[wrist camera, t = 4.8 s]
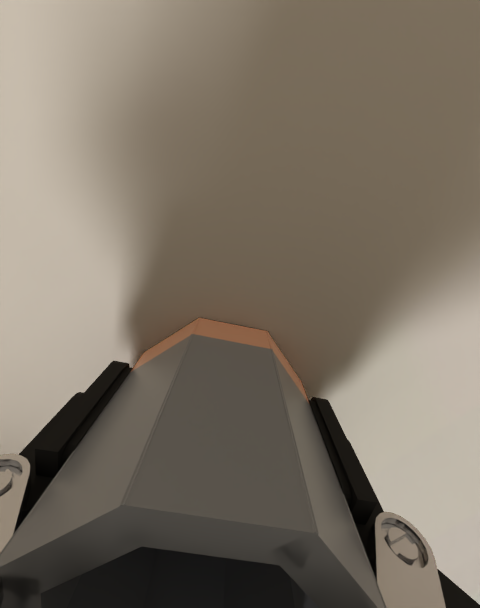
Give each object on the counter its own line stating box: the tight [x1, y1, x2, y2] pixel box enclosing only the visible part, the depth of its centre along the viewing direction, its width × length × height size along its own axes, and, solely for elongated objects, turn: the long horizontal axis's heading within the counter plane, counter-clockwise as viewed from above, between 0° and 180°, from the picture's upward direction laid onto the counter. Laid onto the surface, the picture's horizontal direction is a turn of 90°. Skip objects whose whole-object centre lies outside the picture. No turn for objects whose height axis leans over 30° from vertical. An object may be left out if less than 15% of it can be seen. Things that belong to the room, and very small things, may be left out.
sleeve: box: [0, 318, 387, 608], centre depth 8 cm, size 7×7×7 cm
